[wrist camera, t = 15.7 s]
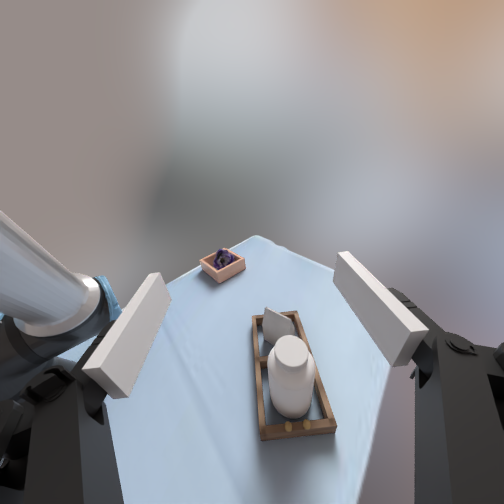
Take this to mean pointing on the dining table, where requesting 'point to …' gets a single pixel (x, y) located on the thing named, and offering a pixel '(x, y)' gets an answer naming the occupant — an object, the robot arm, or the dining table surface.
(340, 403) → the dining table surface
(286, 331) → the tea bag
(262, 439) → the slot rack
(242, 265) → the flower planter
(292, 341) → the pill bottle
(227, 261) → the flower
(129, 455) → the dining table surface
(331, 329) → the dining table surface
